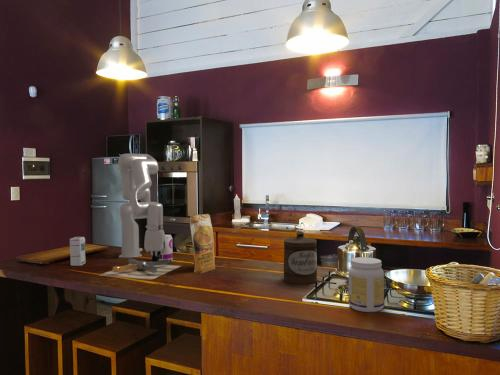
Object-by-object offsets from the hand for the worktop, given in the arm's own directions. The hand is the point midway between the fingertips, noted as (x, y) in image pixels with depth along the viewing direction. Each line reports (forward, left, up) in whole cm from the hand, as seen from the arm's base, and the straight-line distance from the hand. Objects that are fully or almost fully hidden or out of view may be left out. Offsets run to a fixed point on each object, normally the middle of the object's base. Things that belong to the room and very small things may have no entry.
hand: (155, 263), depth 200 cm
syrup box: (+3, -45, -3) cm, 45 cm away
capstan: (+9, -2, -1) cm, 9 cm away
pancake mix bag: (-3, +25, -3) cm, 25 cm away
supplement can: (-13, -2, -3) cm, 14 cm away
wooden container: (0, +74, -3) cm, 74 cm away
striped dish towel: (+9, -2, -3) cm, 9 cm away
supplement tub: (+30, +103, -3) cm, 107 cm away
